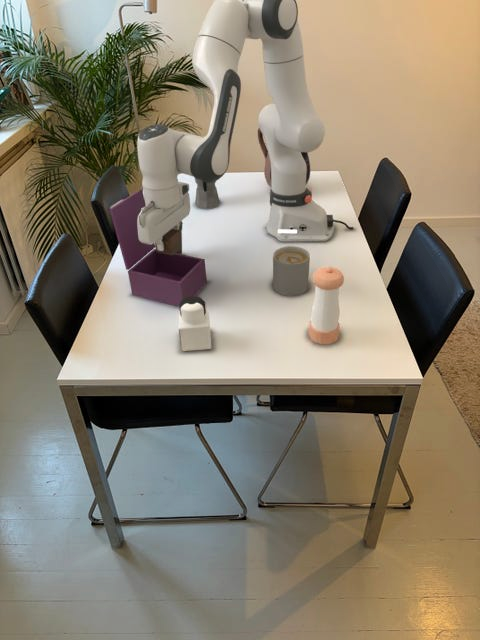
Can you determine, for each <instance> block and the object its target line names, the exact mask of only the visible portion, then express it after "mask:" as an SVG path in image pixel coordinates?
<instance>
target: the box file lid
mask: <svg viewBox="0 0 480 640" xmlns="http://www.w3.org/2000/svg"><path fill="white" fill-rule="evenodd" d="M145 206H146V204H145V199H144V193H143V188H142V189H141V188H140V189H137V190H136V191H135V192H133V193H132V194H130V195H129V196H127V197H125V198H124V199H120V200H119V201H117V202H116V203H114V204H113V205H111V206H110V207H109V213H110V216H111V218H112V223H113V226H114V230H115V234H116V238H117V242H118V245H119V249H120V252H121V256H122V260H123V263H124V266H125V270H126V271H129V270H130V269H131V268H132V267H133V266H135V265H136V264H137V263H138V262H139V261H141V260H142V259H143V258H144V257H145V256H147V255H148V254H149V253H150V252H151V251H153V250H154V249H156V247H155V243H153V244H152V245H149V244H144V243H141V242H140V241H139V238H138V227H137V219H138V215H139V214H140V212H141V209H142V208H143V207H145Z"/></svg>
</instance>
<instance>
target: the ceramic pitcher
mask: <svg viewBox="0 0 480 640" xmlns="http://www.w3.org/2000/svg"><path fill="white" fill-rule="evenodd" d="M257 139H258V144H259V146H260V149H261V153H262V154H263V157H264V159H265V160H264V171H263V175H264V179H265V181H266V183H267V185H268V186H269V188H270V189H271V162H270V157H269V153H268V149H267V145H266V142H265V139H264V136H263V134H262V132H261V130H260V129H259V128H258V129H257ZM301 155H302V157H303V159H304V160H305V162H306V166H307V172H306V185H308V183H309V180H310V178H311V163H310V157H309V152H301Z"/></svg>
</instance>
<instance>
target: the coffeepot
mask: <svg viewBox="0 0 480 640" xmlns="http://www.w3.org/2000/svg"><path fill="white" fill-rule="evenodd" d="M193 178H194V181H195V184H196V190H195V201H194V202H195V203H194V204H195V205H196V207H197V208H199V209H202V210H203V209H204V210H206V209H208V210H209V209H214V208H216V207H218V206H219V204H220V203H221V201H220V197H219V193H218V189H217V186H216V182H217V181H215V182H213V183H206V182H203V181H201V180H199V179H197V178H195V177H193Z"/></svg>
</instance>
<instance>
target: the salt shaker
mask: <svg viewBox="0 0 480 640" xmlns="http://www.w3.org/2000/svg"><path fill="white" fill-rule="evenodd" d="M312 282H313V284H314V286H315V291H314V299H313V304H312V306H311V313H310V320H309V322H308V323H309V325H308V326H309V327H308V338H309V339H310V340H311V341H312V342H314V343H315V344H319V345H332V344H333V343H335V342H336V341H338V339H339V333H340V325H341V324H340V322H339V321H340V320H339V319H340V314H341V313H340V312H341V311H340V299H339V298H340V288H341V286H343V284H344V282H345V276H344V273H343V272H342V271H341V270H340V269H339V268H336V267H333V266H322V267H320V268H317V270H315V271H314V273H313V275H312Z"/></svg>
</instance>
